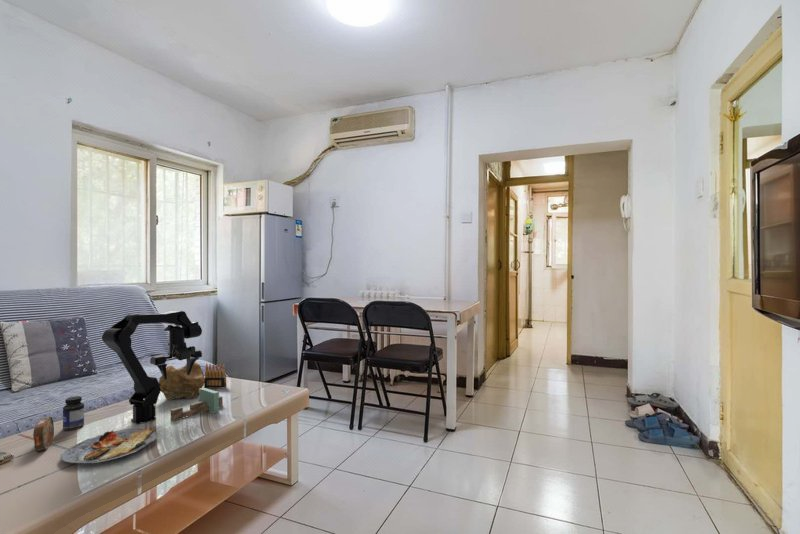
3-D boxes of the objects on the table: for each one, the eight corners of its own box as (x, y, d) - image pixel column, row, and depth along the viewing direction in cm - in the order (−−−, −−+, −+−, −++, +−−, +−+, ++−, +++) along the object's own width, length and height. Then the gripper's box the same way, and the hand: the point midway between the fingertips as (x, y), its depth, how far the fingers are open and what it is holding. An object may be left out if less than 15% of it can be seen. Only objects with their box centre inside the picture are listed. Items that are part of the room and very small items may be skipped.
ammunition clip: (204, 388, 196) (203, 363, 196) (206, 386, 198) (205, 363, 198) (224, 388, 195) (224, 363, 196) (226, 386, 197) (226, 362, 197)
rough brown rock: (184, 406, 170) (187, 372, 171) (150, 402, 173) (153, 368, 174) (217, 392, 193) (220, 362, 194) (187, 388, 196) (189, 358, 197)
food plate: (107, 433, 139) (107, 423, 139) (171, 434, 139) (171, 424, 139) (41, 470, 114) (40, 458, 114) (119, 471, 114) (118, 459, 114)
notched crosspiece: (214, 413, 159) (214, 393, 159) (199, 407, 166) (198, 388, 166) (218, 411, 160) (218, 392, 161) (203, 406, 167) (203, 387, 168)
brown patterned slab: (44, 453, 125) (44, 426, 125) (31, 456, 123) (31, 429, 123) (55, 437, 138) (54, 413, 138) (43, 439, 136) (43, 415, 136)
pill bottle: (61, 428, 146) (61, 398, 146) (82, 423, 150) (82, 394, 151) (64, 432, 142) (64, 401, 142) (85, 427, 146) (85, 397, 146)
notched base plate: (173, 420, 151) (173, 410, 151) (170, 419, 152) (170, 409, 152) (222, 406, 167) (222, 396, 167) (220, 405, 168) (219, 396, 168)
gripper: (161, 345, 154) (161, 385, 154) (208, 338, 169) (208, 375, 169) (149, 343, 161) (149, 381, 161) (195, 336, 176) (196, 371, 176)
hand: (177, 377), depth 166 cm, fingers open, 9 cm apart
